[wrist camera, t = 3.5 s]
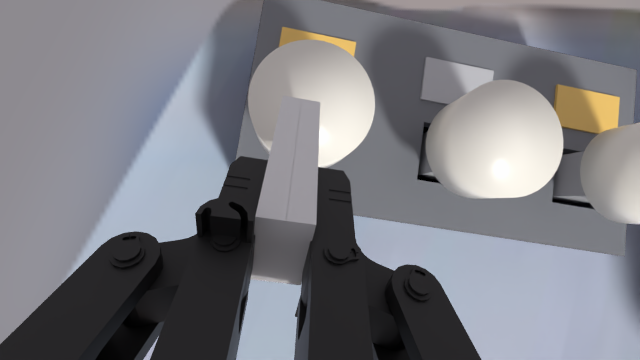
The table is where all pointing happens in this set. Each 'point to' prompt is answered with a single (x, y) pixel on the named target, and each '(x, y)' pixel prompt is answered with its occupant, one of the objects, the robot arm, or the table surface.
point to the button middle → (493, 142)
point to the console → (432, 96)
